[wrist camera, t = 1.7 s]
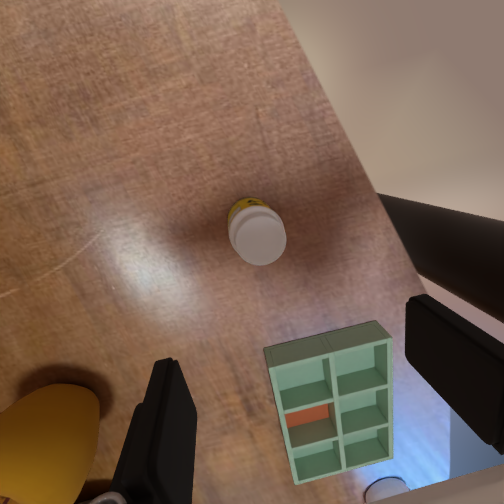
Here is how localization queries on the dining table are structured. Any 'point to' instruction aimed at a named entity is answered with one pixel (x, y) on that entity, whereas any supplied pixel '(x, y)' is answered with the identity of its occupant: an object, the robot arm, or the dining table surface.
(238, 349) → the dining table surface
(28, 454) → the apple
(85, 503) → the bowl
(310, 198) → the dining table surface
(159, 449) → the robot arm
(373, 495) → the bottle
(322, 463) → the tray
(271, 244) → the supplement bottle
